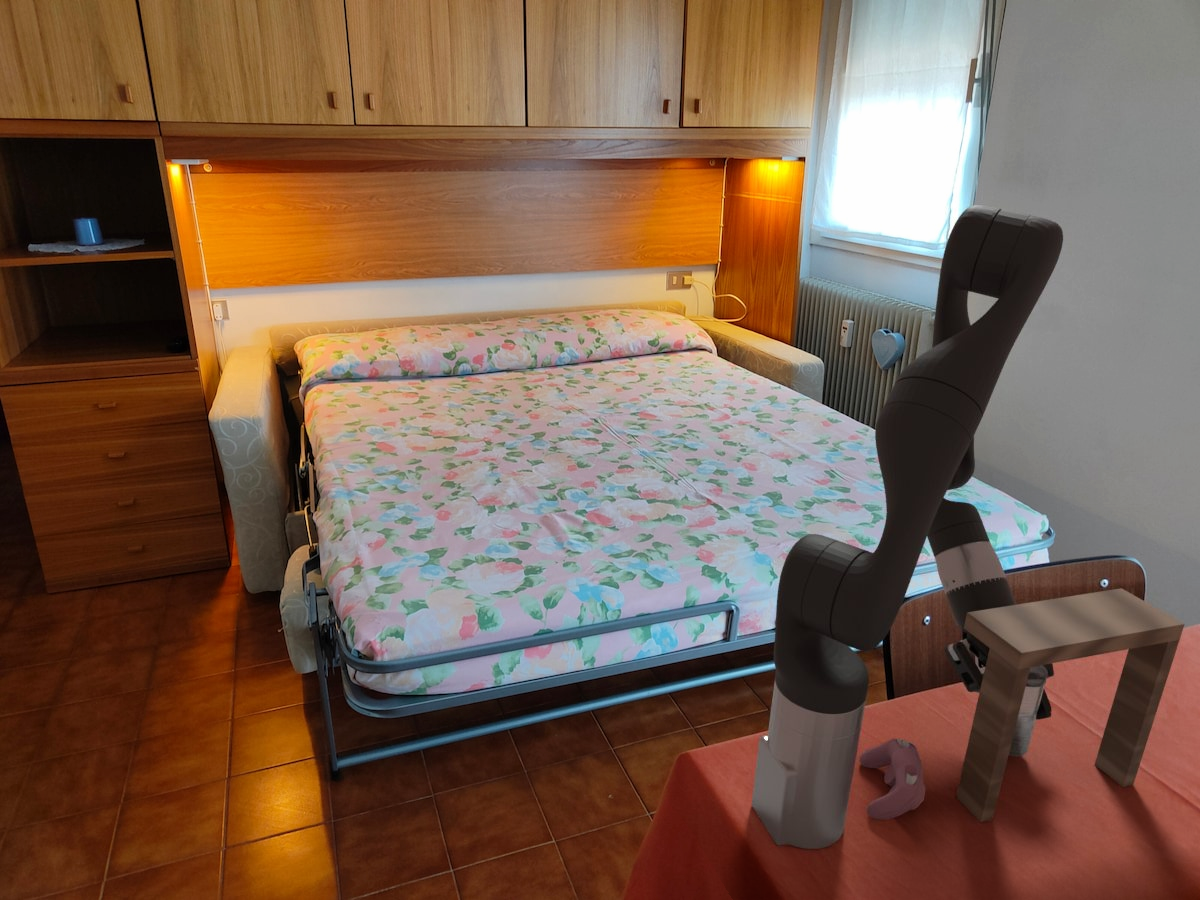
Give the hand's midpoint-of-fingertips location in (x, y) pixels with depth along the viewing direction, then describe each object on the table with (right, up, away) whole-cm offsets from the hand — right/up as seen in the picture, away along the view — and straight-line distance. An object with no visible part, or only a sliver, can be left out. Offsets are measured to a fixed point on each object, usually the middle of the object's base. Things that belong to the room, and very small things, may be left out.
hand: (1025, 721), depth 98 cm
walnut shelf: (+1, -7, 0) cm, 7 cm away
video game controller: (-18, -7, -3) cm, 19 cm away
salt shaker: (-1, -4, +3) cm, 5 cm away
